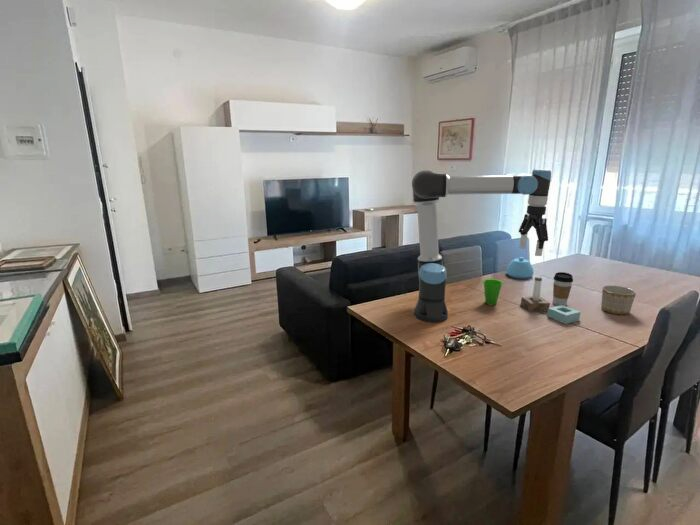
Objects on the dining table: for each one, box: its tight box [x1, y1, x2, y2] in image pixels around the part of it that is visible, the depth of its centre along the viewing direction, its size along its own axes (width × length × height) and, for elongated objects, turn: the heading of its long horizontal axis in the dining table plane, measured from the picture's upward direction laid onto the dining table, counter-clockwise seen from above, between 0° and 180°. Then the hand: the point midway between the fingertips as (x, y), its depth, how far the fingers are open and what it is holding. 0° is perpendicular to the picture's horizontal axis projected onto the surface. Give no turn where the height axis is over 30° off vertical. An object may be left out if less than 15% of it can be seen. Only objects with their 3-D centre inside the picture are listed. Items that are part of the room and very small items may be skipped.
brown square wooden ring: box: [520, 295, 551, 312], centre depth 179 cm, size 9×9×4 cm
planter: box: [600, 284, 637, 316], centre depth 173 cm, size 13×13×10 cm
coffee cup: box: [552, 271, 574, 306], centre depth 182 cm, size 8×8×15 cm
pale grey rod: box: [532, 276, 543, 302], centre depth 177 cm, size 3×3×15 cm
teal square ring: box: [546, 305, 581, 325], centre depth 167 cm, size 9×9×4 cm
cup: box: [482, 278, 503, 306], centre depth 185 cm, size 9×9×11 cm
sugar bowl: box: [506, 256, 534, 280], centre depth 227 cm, size 15×15×12 cm
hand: (530, 252), depth 171 cm, fingers open, 13 cm apart
